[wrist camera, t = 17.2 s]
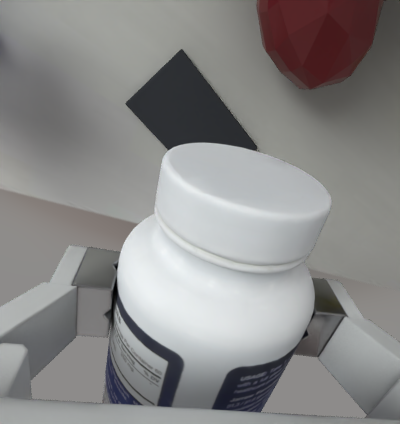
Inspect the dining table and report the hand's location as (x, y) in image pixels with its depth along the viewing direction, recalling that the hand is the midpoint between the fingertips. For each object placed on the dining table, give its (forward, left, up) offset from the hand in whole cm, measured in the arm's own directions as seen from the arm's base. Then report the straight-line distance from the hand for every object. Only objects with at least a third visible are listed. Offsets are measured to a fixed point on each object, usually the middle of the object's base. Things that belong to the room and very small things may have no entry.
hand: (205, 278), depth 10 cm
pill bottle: (+4, -5, +1) cm, 6 cm away
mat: (0, 0, -19) cm, 19 cm away
